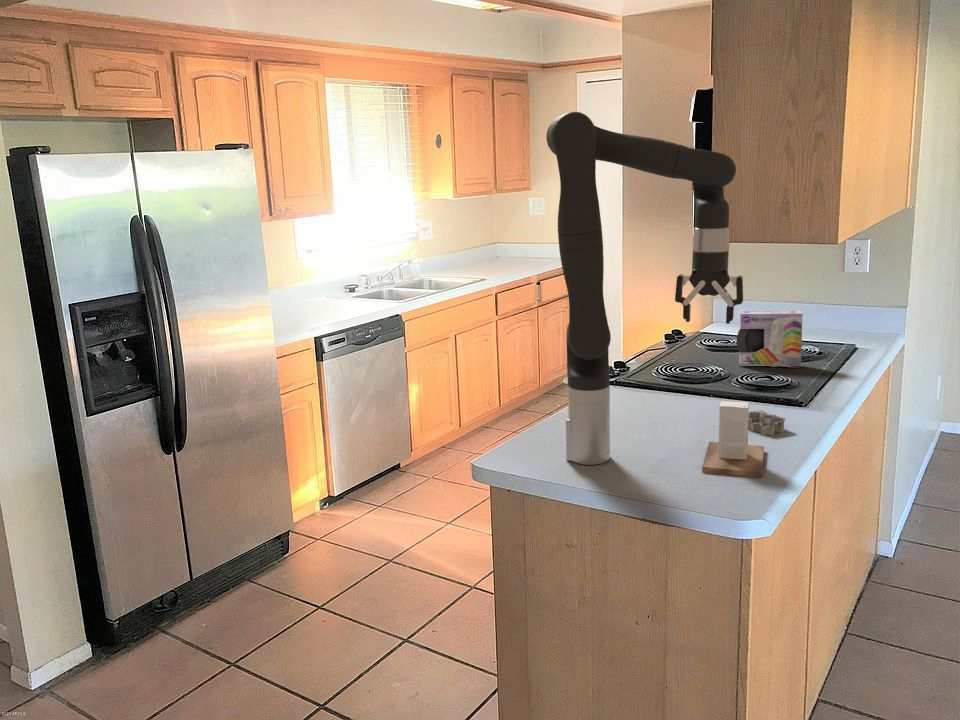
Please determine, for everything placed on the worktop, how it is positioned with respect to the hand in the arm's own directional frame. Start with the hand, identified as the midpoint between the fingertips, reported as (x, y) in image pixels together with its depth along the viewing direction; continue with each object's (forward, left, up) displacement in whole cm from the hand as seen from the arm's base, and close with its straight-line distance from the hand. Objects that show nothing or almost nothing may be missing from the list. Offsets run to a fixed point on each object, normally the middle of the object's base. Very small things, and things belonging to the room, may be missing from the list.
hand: (707, 322), depth 176 cm
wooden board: (+7, -6, -30) cm, 31 cm away
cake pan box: (+12, +79, -30) cm, 86 cm away
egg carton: (+12, +18, -30) cm, 37 cm away
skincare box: (+7, -6, -29) cm, 30 cm away
